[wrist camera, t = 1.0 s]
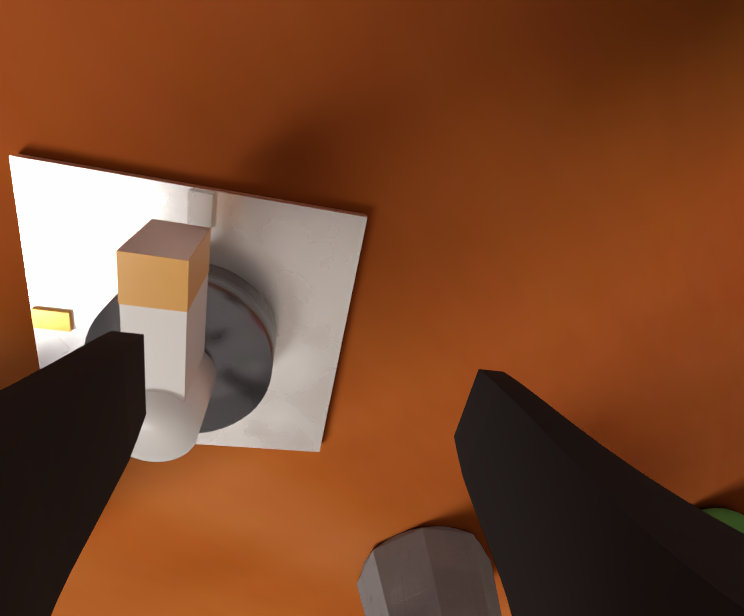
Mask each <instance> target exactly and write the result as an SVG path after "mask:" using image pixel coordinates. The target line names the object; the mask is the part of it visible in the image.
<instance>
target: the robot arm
mask: <svg viewBox="0 0 744 616" xmlns="http://www.w3.org/2000/svg"><path fill="white" fill-rule="evenodd" d="M145 416H146V391H145V355H144V334H137V333H127V332H118V331H109V332H107V333H105V334H103V335H101V336H99V337H97V338H96V339H94V340H92V341H90V342H88V343H87V344H85V345H83V346H81V347H79V348H78V349H76V350H74V351H72V352H71V353H69V354H67V355H65V356H63V357H62V358H60V359H58V360H56V361H54V362H53V363H51V364H49V365H47V366H45V367H44V368H42V369H40V370H38V371H36V372H34V373H33V374H31V375H29V376H27V377H25V378H23V379H22V380H20V381H18V382H16V383H14V384H12V385H10V386H8V387H6V388H4V389H2V390H0V616H51V614H52V612H53V609H54V607H55V604H56V602H57V600H58V598H59V595H60V593H61V591H62V589H63V587H64V585H65V583H66V581H67V579H68V577H69V575H70V572H71V570H72V568H73V567H74V565H75V563H76V561H77V559H78V557H79V555H80V553H81V551H82V550H83V548H84V546H85V544H86V542H87V540H88V538H89V536H90V534H91V532H92V531H93V529H94V527H95V525H96V523H97V521H98V519H99V517H100V515H101V514H102V512H103V510H104V508H105V506H106V504H107V502H108V500H109V498H110V496H111V495H112V493H113V491H114V489H115V487H116V485H117V483H118V481H119V479H120V477H121V475H122V473H123V471H124V469H125V467H126V465H127V464H128V462H129V460H130V457H131V454H132V452H133V449H134V447H135V444H136V441H137V439H138V436H139V433H140V430H141V427H142V425H143V422H144V419H145ZM454 439H455V444H456V449H457V453H458V458H459V462H460V467H461V471H462V475H463V478H464V481H465V484H466V487H467V490H468V492H469V495H470V498H471V501H472V503H473V506H474V509H475V512H476V514H477V517H478V519H479V522H480V525H481V527H482V530H483V533H484V535H485V538H486V541H487V543H488V546H489V549H490V551H491V554H492V557H493V559H494V562H495V565H496V567H497V570H498V573H499V575H500V578H501V581H502V584H503V587H504V590H505V593H506V596H507V600H508V603H509V607H510V611H511V614H512V616H744V533H742V532H740V531H738V530H736V529H734V528H733V527H731V526H729V525H727V524H725V523H724V522H722V521H720V520H718V519H716V518H714V517H713V516H711V515H709V514H707V513H706V512H704V511H702V510H700V509H699V508H697V507H695V506H694V505H692V504H690V503H688V502H687V501H685V500H684V499H682V498H680V497H679V496H677V495H676V494H674V493H672V492H671V491H669V490H668V489H666V488H664V487H663V486H661V485H660V484H658V483H656V482H655V481H653V480H651V479H650V478H648V477H647V476H645V475H644V474H642V473H641V472H639V471H638V470H636V469H635V468H633V467H632V466H630V465H629V464H628V463H626V462H625V461H623V460H622V459H620V458H619V457H618V456H616V455H615V454H613V453H612V452H611V451H609V450H608V449H606V448H605V447H603V446H602V445H601V444H599V443H598V442H597V441H595V440H594V439H593V438H591V437H590V436H589V435H587V434H586V433H585V432H583V431H582V430H581V429H579V428H578V427H577V426H575V425H574V424H573V423H571V422H570V421H569V420H567V419H566V418H565V417H564V416H562V415H561V414H560V413H558V412H557V411H556V410H555V409H553V408H552V407H551V406H549V405H548V404H547V403H546V402H544V401H543V400H542V399H540V398H539V397H538V396H537V395H535V394H534V393H533V392H531V391H530V390H529V389H527V388H526V387H525V386H523V385H522V384H521V383H519V382H518V381H517V380H515V379H514V378H512V377H511V376H509V375H508V374H506V373H504V372H501V371H492V370H482V369H479V370H478V373H477V375H476V378H475V381H474V383H473V386H472V389H471V392H470V394H469V397H468V400H467V403H466V405H465V408H464V411H463V413H462V416H461V419H460V422H459V424H458V427H457V430H456V433H455V435H454Z"/></svg>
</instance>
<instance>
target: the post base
mask: <svg viewBox="0 0 744 616" xmlns="http://www.w3.org/2000/svg"><path fill="white" fill-rule="evenodd" d="M9 160H10V167H11V174H12V180H13V187H14V194H15V201H16V208H17V215H18V222H19V229H20V236H21V243H22V250H23V257H24V264H25V271H26V278H27V284H28V291H29V298H30V305H31V315H32V322H33V328H34V333H35V340H36V347H37V354H38V361H39V368H40V369H42V368H44V367H45V366H47V365H49V364H51V363H53V362H54V361H56V360H58V359H60V358H62V357H63V356H65V355H67V354H69V353H71V352H72V351H74V350H76V349H78V348H79V347H81V346H83V345H85V344H87V343H88V342H90V341H92V340H94V339H96V338H97V337H99V336H101V335H103V334H105V333H107V332H109V331H118V332H121V328H120V307H119V304H118V287H117V266H116V250H117V249H118V248H119V247H121V246H122V245H123V244H124V243H125V242H126V241H127V240H128V239H130V238H131V237H132V236H133V235H134V234H135V233H136V232H137V231H139V230H140V229H141V228H142V227H143V226H144V225H145V224H147V223H148V222H149V221H150V220H151V219H158V220H164V221H171V222H177V223H184V224H190V225H196V226H203V227H209V228H211V239H210V259H209V272H208V286H207V306H206V327H205V348H204V352H205V353H206V354H207V355H208V356H209V357H210V358H211V359H212V361H213V363H214V365H215V368H216V381H215V384H214V387H213V390H212V394H211V397H210V400H209V403H208V406H207V409H206V412H205V416H204V419H203V422H202V425H201V428H200V431H199V434H198V438H197V441H196V443H195V444H205V445H221V446H236V447H252V448H267V449H283V450H298V451H314V452H319V451H320V446H321V442H322V437H323V432H324V427H325V422H326V417H327V412H328V407H329V403H330V398H331V393H332V388H333V383H334V378H335V373H336V368H337V364H338V359H339V354H340V349H341V344H342V339H343V334H344V329H345V324H346V320H347V315H348V310H349V305H350V300H351V295H352V290H353V285H354V281H355V276H356V271H357V266H358V261H359V256H360V251H361V246H362V242H363V237H364V232H365V227H366V222H367V215H366V214H363V213H357V212H351V211H346V210H340V209H334V208H328V207H323V206H317V205H311V204H305V203H300V202H294V201H288V200H282V199H277V198H271V197H265V196H259V195H254V194H248V193H242V192H236V191H231V190H225V189H219V188H213V187H208V186H202V185H196V184H190V183H185V182H179V181H173V180H167V179H162V178H156V177H150V176H144V175H139V174H133V173H127V172H121V171H115V170H110V169H104V168H98V167H92V166H87V165H81V164H75V163H69V162H64V161H58V160H52V159H46V158H41V157H35V156H29V155H23V154H18V153H17V154H13V155H9Z"/></svg>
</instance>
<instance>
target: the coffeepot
mask: <svg viewBox="0 0 744 616" xmlns="http://www.w3.org/2000/svg"><path fill="white" fill-rule="evenodd" d="M357 586H358V590H359V594H360V598H361V602H362V606H363V610H364V613H365V616H501V611H500V605H499V600H498V595H497V590H496V585H495V580H494V575H493V569H492V564H491V561H490V559H489V557H488V556H487V554H486V553H485V551H484V549H483V547H482V546H481V544H480V542H479V541H478V540H477V539H476V538H475V536H474V535H473V534H472V533H469V532H466V531H463V530H460V529H456V528H451V527H443V526H431V527H421V528H417V529H413V530H408V531H406V532H403V533H400V534H398V535H395V536H394V537H392V538H390V539H388V540H386V541H385V542H383V543H382V544H380V545H379V546H378V547H376V548H375V549H374V550H373V551H372V552H371V553H370V555H369V556H368V558H367V559H366V561H365V563H364V565H363V569H362V572H361V576H360V578H359V581H358V583H357Z"/></svg>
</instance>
